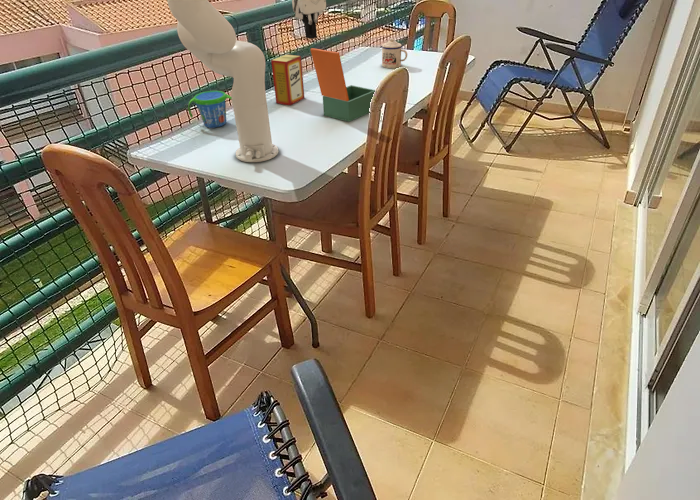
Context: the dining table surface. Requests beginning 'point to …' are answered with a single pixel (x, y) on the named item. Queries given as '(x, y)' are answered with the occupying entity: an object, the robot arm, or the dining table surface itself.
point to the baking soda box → (288, 79)
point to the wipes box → (349, 104)
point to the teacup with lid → (392, 54)
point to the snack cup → (211, 107)
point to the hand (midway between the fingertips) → (311, 37)
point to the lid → (330, 74)
